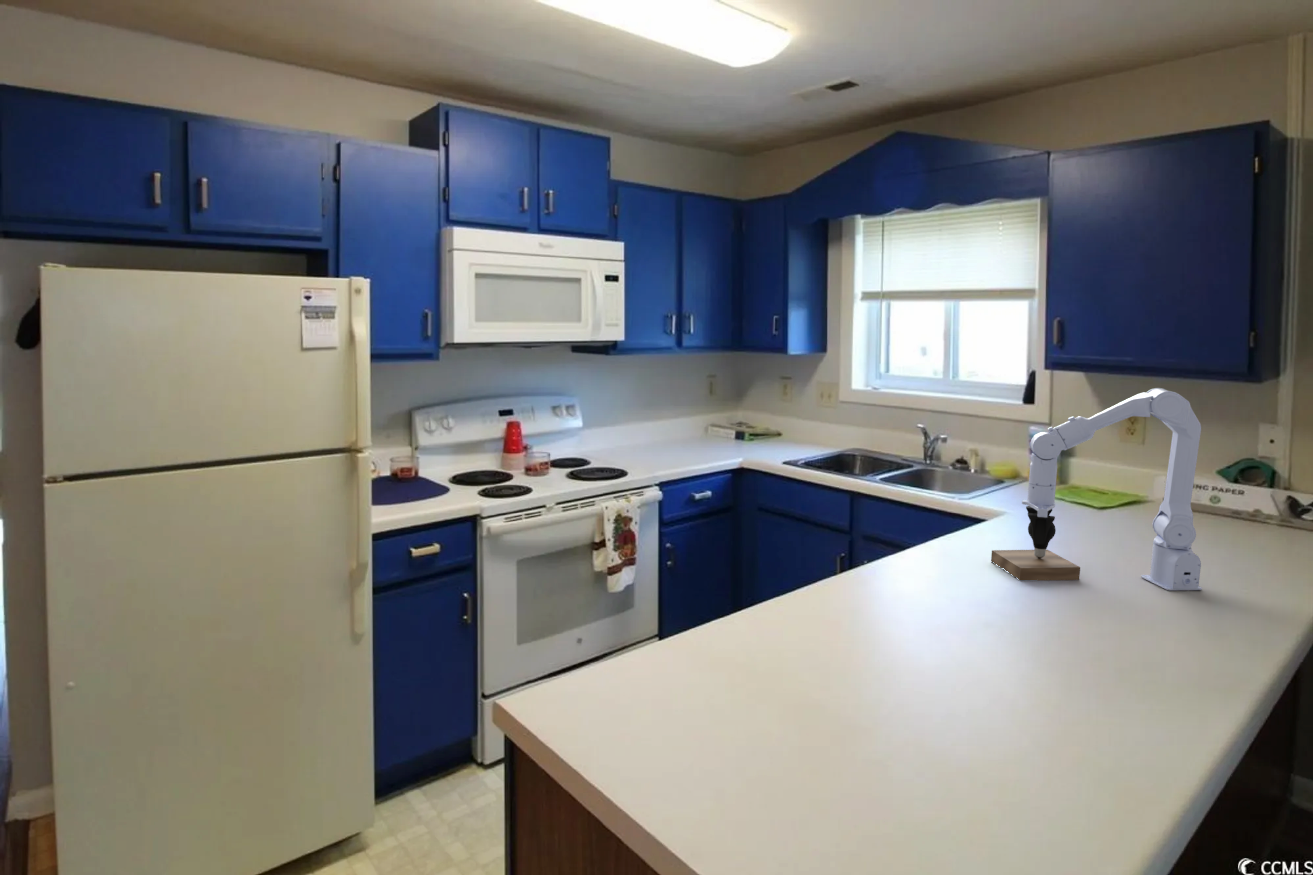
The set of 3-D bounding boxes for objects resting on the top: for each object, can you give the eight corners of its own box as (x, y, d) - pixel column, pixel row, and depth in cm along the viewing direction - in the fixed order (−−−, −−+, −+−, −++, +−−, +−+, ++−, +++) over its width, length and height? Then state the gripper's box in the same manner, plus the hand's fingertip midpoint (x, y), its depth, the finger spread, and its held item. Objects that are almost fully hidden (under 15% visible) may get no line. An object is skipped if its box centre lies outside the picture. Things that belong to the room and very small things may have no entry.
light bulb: (1057, 562, 185) (1060, 521, 183) (1031, 562, 186) (1034, 520, 184) (1047, 554, 191) (1050, 514, 189) (1021, 554, 191) (1024, 514, 190)
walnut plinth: (1079, 579, 182) (1080, 567, 182) (1019, 580, 181) (1020, 568, 181) (1046, 561, 196) (1047, 549, 196) (991, 562, 195) (991, 550, 195)
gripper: (1021, 476, 194) (1018, 530, 196) (1025, 488, 180) (1020, 546, 183) (1054, 479, 191) (1049, 533, 193) (1059, 491, 178) (1054, 549, 180)
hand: (1037, 540), depth 188 cm, fingers closed on light bulb, 6 cm apart
